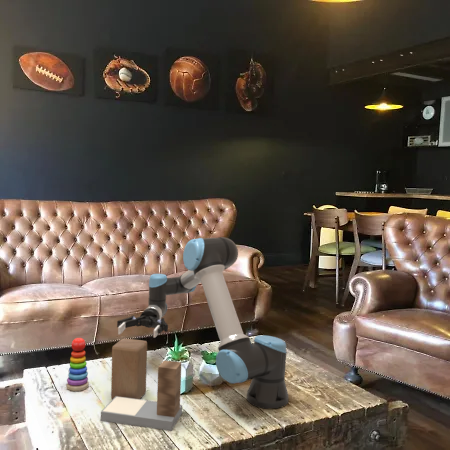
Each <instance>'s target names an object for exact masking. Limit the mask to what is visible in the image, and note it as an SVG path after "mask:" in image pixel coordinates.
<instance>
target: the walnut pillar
mask: <svg viewBox="0 0 450 450" xmlns="http://www.w3.org/2000/svg"><path fill="white" fill-rule="evenodd" d="M181 383H182V362H180V361H172V360H163V361H162V362H161V363H160V364H159V365H158V366H157V388H156V389H157V391H156V392H157V393H156V394H157V395H156V397H157V398H156V402H157V415H161V416H169V417H175V416H176V414H177V413H178V411H179V409H180V405H181V387H182V386H181V385H182V384H181Z"/></svg>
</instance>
